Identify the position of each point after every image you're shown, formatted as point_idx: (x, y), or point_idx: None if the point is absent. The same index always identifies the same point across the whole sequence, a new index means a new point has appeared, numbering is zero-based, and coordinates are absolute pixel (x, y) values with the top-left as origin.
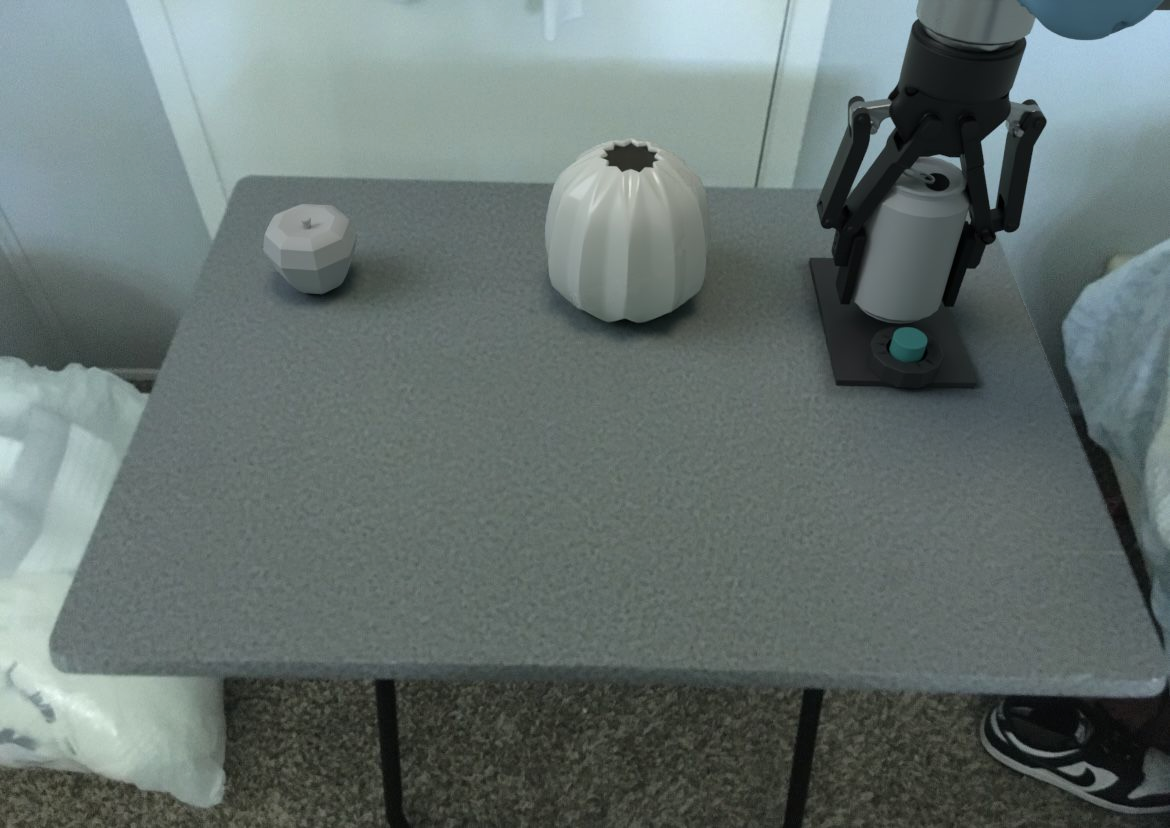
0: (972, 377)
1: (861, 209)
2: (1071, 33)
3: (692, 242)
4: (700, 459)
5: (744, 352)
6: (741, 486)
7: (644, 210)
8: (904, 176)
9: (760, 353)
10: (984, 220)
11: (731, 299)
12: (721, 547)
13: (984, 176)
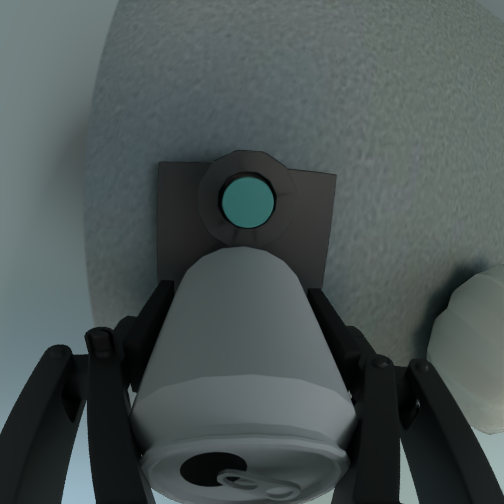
0: (161, 172)
1: (390, 395)
2: None
3: (499, 330)
4: (457, 104)
5: (410, 238)
6: (432, 66)
7: None
8: (286, 480)
9: (396, 235)
10: (101, 372)
11: (395, 319)
12: (440, 25)
13: (93, 472)
